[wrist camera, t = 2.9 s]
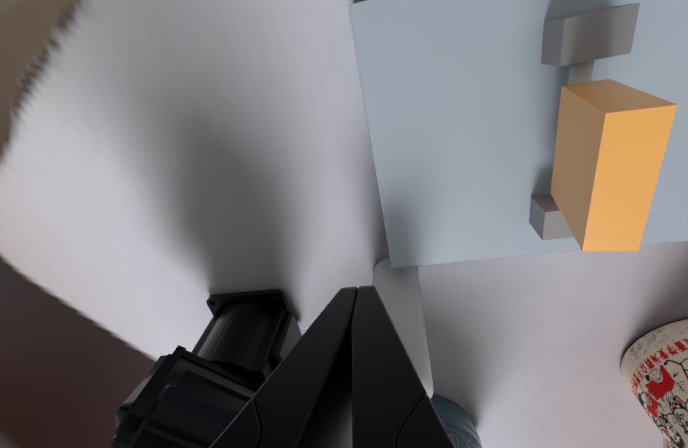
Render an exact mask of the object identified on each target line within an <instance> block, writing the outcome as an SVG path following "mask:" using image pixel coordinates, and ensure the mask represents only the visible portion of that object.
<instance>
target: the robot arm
mask: <svg viewBox="0 0 688 448" xmlns="http://www.w3.org/2000/svg"><path fill="white" fill-rule="evenodd" d="M277 296H279V297H277ZM213 301H214V302H213ZM207 305H208V306H209V308H210V310H211V312H212V314H213V318H212V320H211V321H210V323H209V324H208V326H207V328H206V329H205V331H204V333H203V334H202V336H201V337H200V339H199V341H198V342H197V344H196V346H195V347H194V349H193V351H192V352H189V351H187V350H186V348H184V347H182V346H179V345H178V347H177V348H176V350H175V351H174V352H173V354H168V355H166V356H160V358H159V359H158V361H157V362H156V363H155V365H154V366H153V368H152V369H151V371H150V372H149V373H148V375H147V376H146V377H145V379H144V380H143V381H142V382H141V383H140V385H139V386H138V387H137V388H136V389H135V390H134V392H133V393H132V394H131V395H130V396H129V397H128V398H127V400H126V401H125V402H124V403H123V404H122V405H121V407H120V408H119V410H118V411H117V413H116V415H115V417H116V423H117V430H116V432H115V434H114V436H113V437H114V438H115V440H114V441H113V443H112V445H111V447H110V448H456V447H455V445H454V444H453V442H452V440H451V439H450V437H449V435H448V433H447V431H446V429H445V427H444V425H443V423H442V422H441V420H440V418H439V416H438V414H437V412H436V410H435V408H434V406H433V404H432V402H431V400H430V398H429V396H427V392H426V390H425V388H424V386H423V384H422V382H421V380H420V377H419V375H418V373H417V371H416V369H415V367H414V365H413V363H412V361H411V359H410V357H409V355H408V353H407V351H406V349H405V347H404V345H403V343H402V340H401V338H400V336H399V334H398V332H397V330H396V328H395V326H394V324H393V322H392V320H391V318H390V316H389V314H388V312H387V310H386V308H385V306H384V303H383V301H382V299H381V297H380V295H379V293H378V291H377V289H376V287H375V286H373V285H371V286H360V287H359V288H357V287H347V288H342V289H340V290H339V292H338V293H337V294H336V295H335V296H334V298H333V299H332V300H331V301H330V303H329V304H328V305H327V306H326V307H325V309H324V310H323V311H322V312H321V314H320V315H319V316H318V317H317V319H316V320H315V321H314V322H313V323H312V325H311V326H310V327H309V328H308V330H307V331H306V332H305V333H304V334H303V336H302V337H301V334H300V331H299V328H298V326H297V323H296V320H295V317H294V315H293V314H292V312H290V309H289V306H288V304H287V301H286V298H285V295H284V293H283V292H282V291H280V290H266V291H255V292H243V293H232V294H220V295H211V296H210V297H209V298H208V300H207ZM300 337H301V338H300Z"/></svg>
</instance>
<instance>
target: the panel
mask: <svg viewBox="0 0 688 448" xmlns="http://www.w3.org/2000/svg"><path fill="white" fill-rule="evenodd" d="M349 11H350V17H351V23H352V30H353V36H354V42H355V48H356V54H357V60H358V66H359V73H360V79H361V85H362V91H363V97H364V103H365V110H366V116H367V122H368V128H369V134H370V140H371V146H372V153H373V159H374V165H375V171H376V177H377V183H378V189H379V196H380V202H381V208H382V214H383V220H384V226H385V232H386V239H387V245H388V251H389V257H390V263H391V268H399V267H410V266H420V265H431V264H442V263H452V262H463V261H474V260H484V259H495V258H506V257H517V256H527V255H538V254H549V253H559V252H570V251H581V248H580V246H579V245H578V243H577V241H576V239H575V237H574V235H573V234H572V232H571V230H570V228H569V226H568V224H567V223H566V221H565V219H564V217H563V215H562V214H561V212H560V210H559V208H558V206H557V204H556V203H555V201H554V199H553V197H552V195H551V193H550V192H551V182H552V173H553V163H554V154H555V144H556V135H557V125H558V116H559V106H560V97H561V87H562V86H564V85H571V84H578V83H585V82H591V81H598V80H605V79H611V80H614V81H617V82H619V83H622V84H625V85H627V86H630V87H632V88H635V89H638V90H640V91H643V92H646V93H648V94H651V95H653V96H656V97H659V98H661V99H664V100H666V101H669V102H672V103H674V104H677V108H676V112H675V116H674V120H673V123H672V127H671V131H670V134H669V138H668V142H667V146H666V149H665V153H664V157H663V161H662V164H661V168H660V172H659V176H658V179H657V183H656V187H655V191H654V194H653V198H652V202H651V206H650V209H649V213H648V217H647V221H646V224H645V228H644V232H643V236H642V239H641V243H640V245H645V244H656V243H666V242H677V241H688V0H366V1H362V2H358V3H354V4H350V5H349Z"/></svg>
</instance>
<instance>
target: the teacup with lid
mask: <svg viewBox="0 0 688 448" xmlns="http://www.w3.org/2000/svg"><path fill="white" fill-rule="evenodd" d="M621 372H622V376H623V378H624V380H625V382H626V383H627V384H628V386H629V387H630V389H631V390H632V392H633V393H634V395H635V396H636V397H637V399H638V400H639V402H640V403H641V405H642V406H643V407H644V409H645V410H646V412H647V413H648V415H649V416H650V418H651V419H652V420H653V422H654V423H655V425H656V426H657V428H658V429H659V431H660V432H661V433H662V435H663V436H664V438H663V444H664V448H688V319H686V320H681V321H677V322H673V323H670V324H667V325H664V326H662V327H659V328H657V329H655V330H653V331H651V332H649V333H647V334H646V335H644V336H643V337H641V338H640V339H638V340H637V341H636V342H635V343H634V344H633V345H632V346H631V347H630V348H629V349H628V350H627V352H626V353H625V355H624V357H623V360H622V363H621Z"/></svg>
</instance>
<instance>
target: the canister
mask: <svg viewBox="0 0 688 448" xmlns="http://www.w3.org/2000/svg"><path fill="white" fill-rule="evenodd" d="M430 400H431V402H432V404H433V406H434V408H435V410H436V412H437V414H438V416H439V418H440V420H441V422H442V423H443V425H444V427H445V429H446V431H447V433H448V435H449V437H450V439H451V440H452V442H453V444H454V445H455V447H456V448H482V447H481V441H480V438H479V436H478V433H477V432H476V430H475V428H474V425H473V422H472V420H471V419H470V417H469V416H468V415H467V414H466V413H465V412H464V411H463V410H462V409H461V408H459V407H458V406H456V405H455V404H453V403H451V402H449V401H447V400H444V399H442V398H439V397H436V396H432V397H431V399H430Z"/></svg>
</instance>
